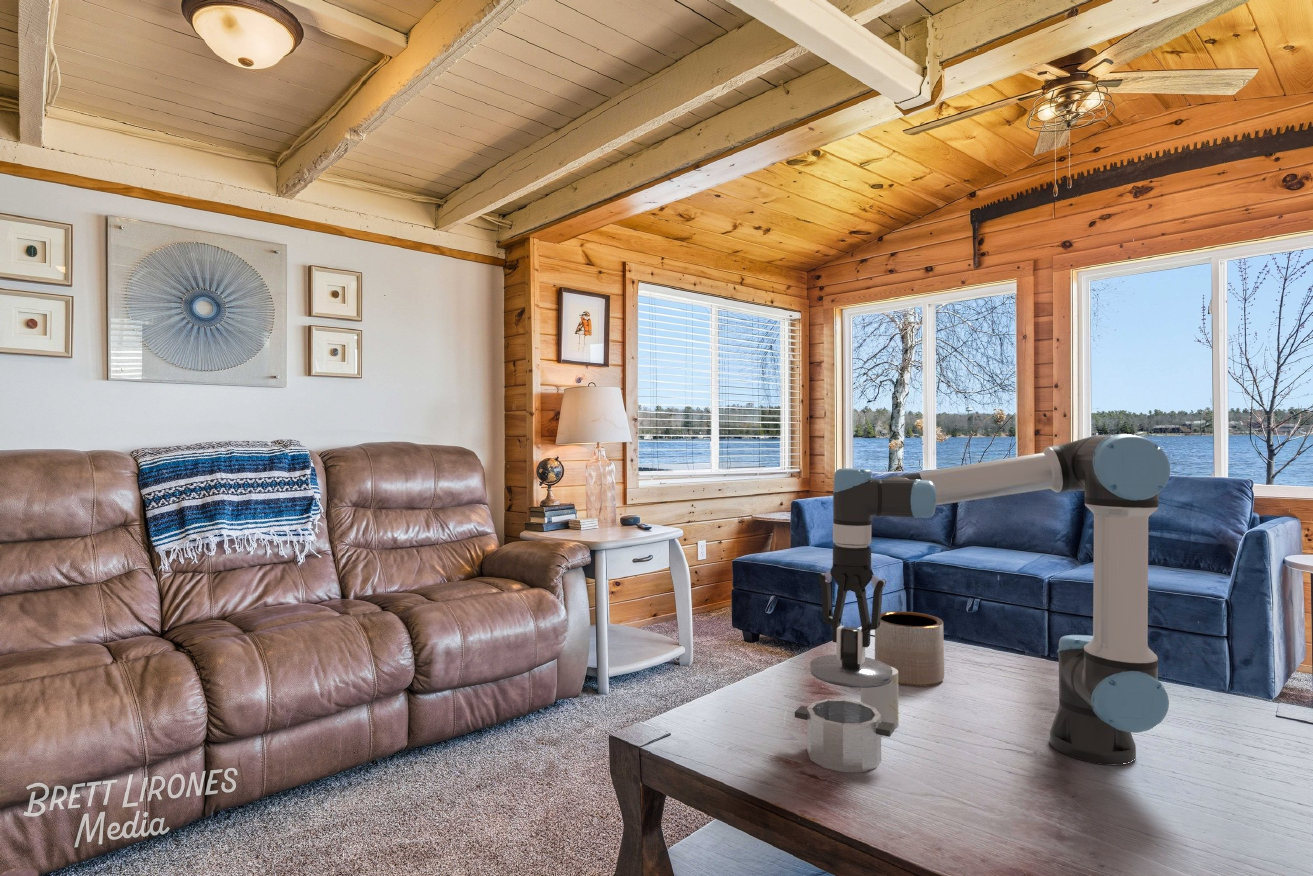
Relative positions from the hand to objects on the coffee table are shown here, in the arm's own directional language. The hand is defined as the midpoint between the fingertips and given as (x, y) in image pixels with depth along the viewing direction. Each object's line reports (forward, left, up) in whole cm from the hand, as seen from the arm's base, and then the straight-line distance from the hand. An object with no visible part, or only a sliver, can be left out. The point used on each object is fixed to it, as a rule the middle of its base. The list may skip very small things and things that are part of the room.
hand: (850, 660), depth 144 cm
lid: (0, 0, -3) cm, 3 cm away
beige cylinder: (-1, -21, -20) cm, 28 cm away
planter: (0, -57, -20) cm, 60 cm away
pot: (+1, 0, -19) cm, 20 cm away
